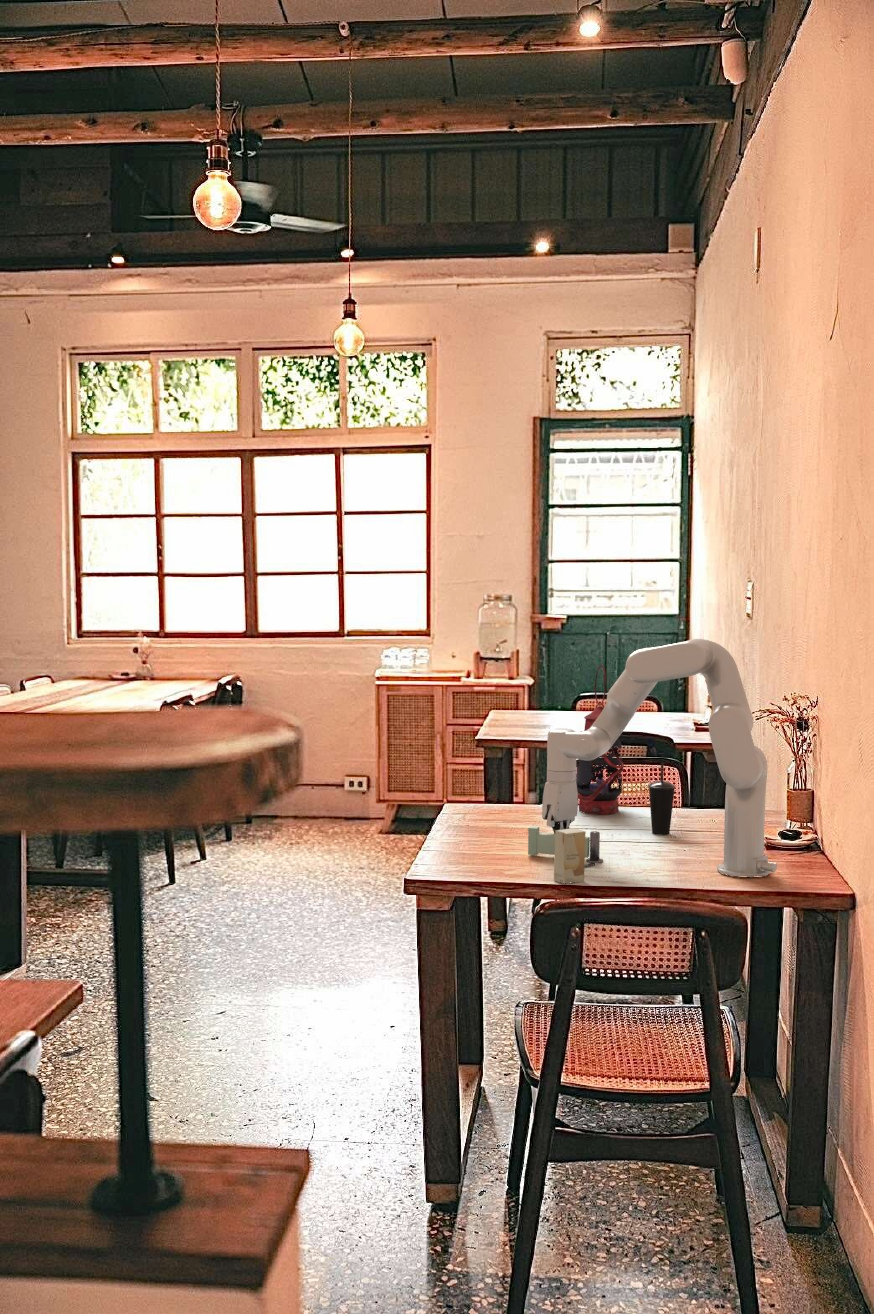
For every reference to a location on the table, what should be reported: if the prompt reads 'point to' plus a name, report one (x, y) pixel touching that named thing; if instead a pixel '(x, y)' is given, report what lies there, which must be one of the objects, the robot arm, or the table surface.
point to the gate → (546, 842)
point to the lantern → (599, 794)
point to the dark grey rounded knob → (594, 848)
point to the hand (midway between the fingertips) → (560, 846)
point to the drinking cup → (661, 805)
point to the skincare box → (569, 855)
